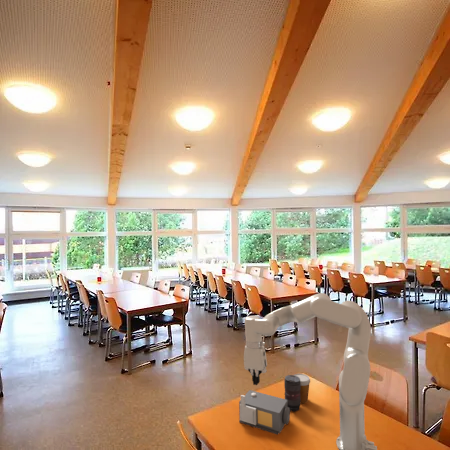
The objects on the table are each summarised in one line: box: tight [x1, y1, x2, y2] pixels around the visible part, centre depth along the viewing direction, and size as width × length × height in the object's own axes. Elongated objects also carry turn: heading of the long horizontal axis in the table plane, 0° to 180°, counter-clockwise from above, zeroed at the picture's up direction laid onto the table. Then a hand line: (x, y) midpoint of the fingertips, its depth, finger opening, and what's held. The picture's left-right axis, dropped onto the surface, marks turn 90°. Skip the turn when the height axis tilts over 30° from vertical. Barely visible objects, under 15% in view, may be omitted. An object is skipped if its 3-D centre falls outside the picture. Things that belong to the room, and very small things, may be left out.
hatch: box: [239, 394, 256, 425], centre depth 142 cm, size 8×1×12 cm, turn 61°
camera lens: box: [283, 374, 301, 412], centre depth 156 cm, size 8×8×15 cm
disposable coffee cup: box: [293, 373, 311, 404], centre depth 162 cm, size 10×10×12 cm
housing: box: [238, 389, 291, 436], centre depth 145 cm, size 22×13×10 cm, turn 61°
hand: (256, 383), depth 141 cm, fingers closed
